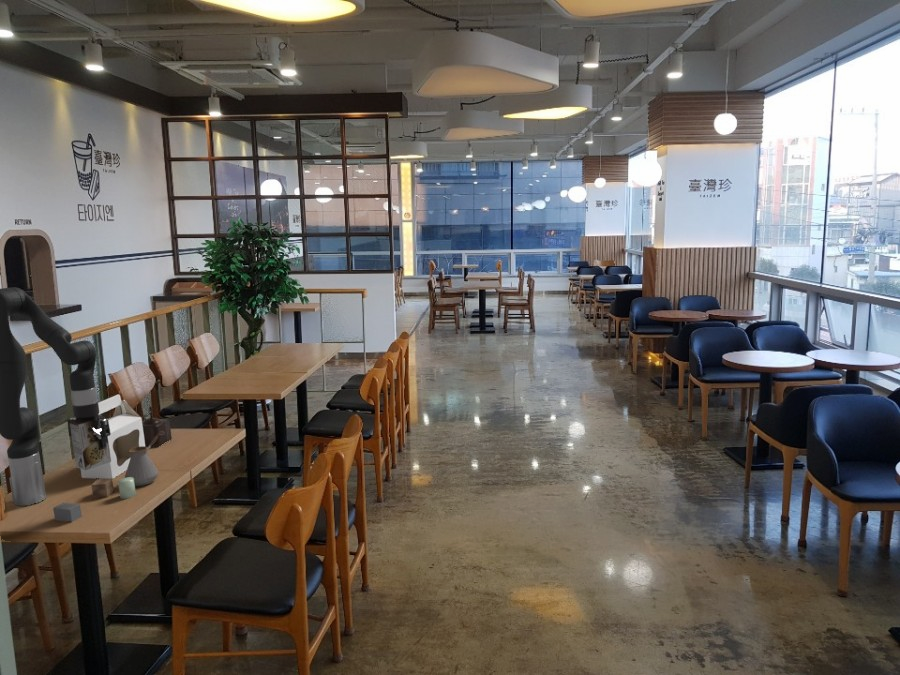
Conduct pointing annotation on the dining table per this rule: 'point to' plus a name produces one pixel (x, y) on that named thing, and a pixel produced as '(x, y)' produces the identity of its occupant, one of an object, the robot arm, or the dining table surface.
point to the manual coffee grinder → (155, 430)
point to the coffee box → (88, 444)
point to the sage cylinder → (126, 487)
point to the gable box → (118, 438)
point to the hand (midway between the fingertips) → (91, 448)
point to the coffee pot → (142, 465)
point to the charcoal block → (67, 512)
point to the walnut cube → (102, 488)
